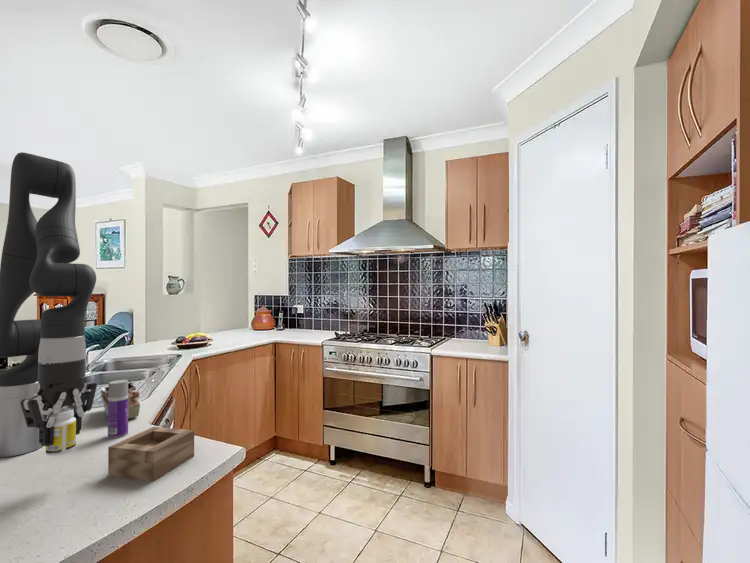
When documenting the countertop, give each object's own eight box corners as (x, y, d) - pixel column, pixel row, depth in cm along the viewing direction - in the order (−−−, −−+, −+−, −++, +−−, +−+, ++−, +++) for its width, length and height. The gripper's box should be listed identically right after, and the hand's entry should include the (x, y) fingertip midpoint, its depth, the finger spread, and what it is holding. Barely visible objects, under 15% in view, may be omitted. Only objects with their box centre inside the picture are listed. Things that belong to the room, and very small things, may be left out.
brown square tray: (108, 476, 79) (108, 446, 79) (153, 452, 91) (153, 426, 91) (154, 482, 77) (154, 451, 77) (194, 457, 88) (194, 430, 88)
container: (130, 434, 102) (130, 381, 102) (109, 440, 98) (110, 384, 99) (125, 430, 105) (126, 378, 106) (105, 435, 102) (106, 381, 102)
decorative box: (86, 429, 106) (87, 396, 107) (89, 412, 122) (90, 383, 123) (140, 420, 114) (140, 389, 114) (136, 404, 130) (136, 377, 130)
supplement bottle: (72, 444, 79) (73, 405, 79) (78, 450, 76) (79, 410, 76) (43, 451, 75) (44, 410, 75) (47, 458, 72) (48, 416, 72)
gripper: (81, 351, 83) (79, 425, 83) (8, 364, 69) (5, 453, 69) (108, 352, 82) (107, 428, 82) (39, 366, 68) (37, 457, 68)
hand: (60, 439), depth 75 cm, fingers closed on supplement bottle, 4 cm apart
